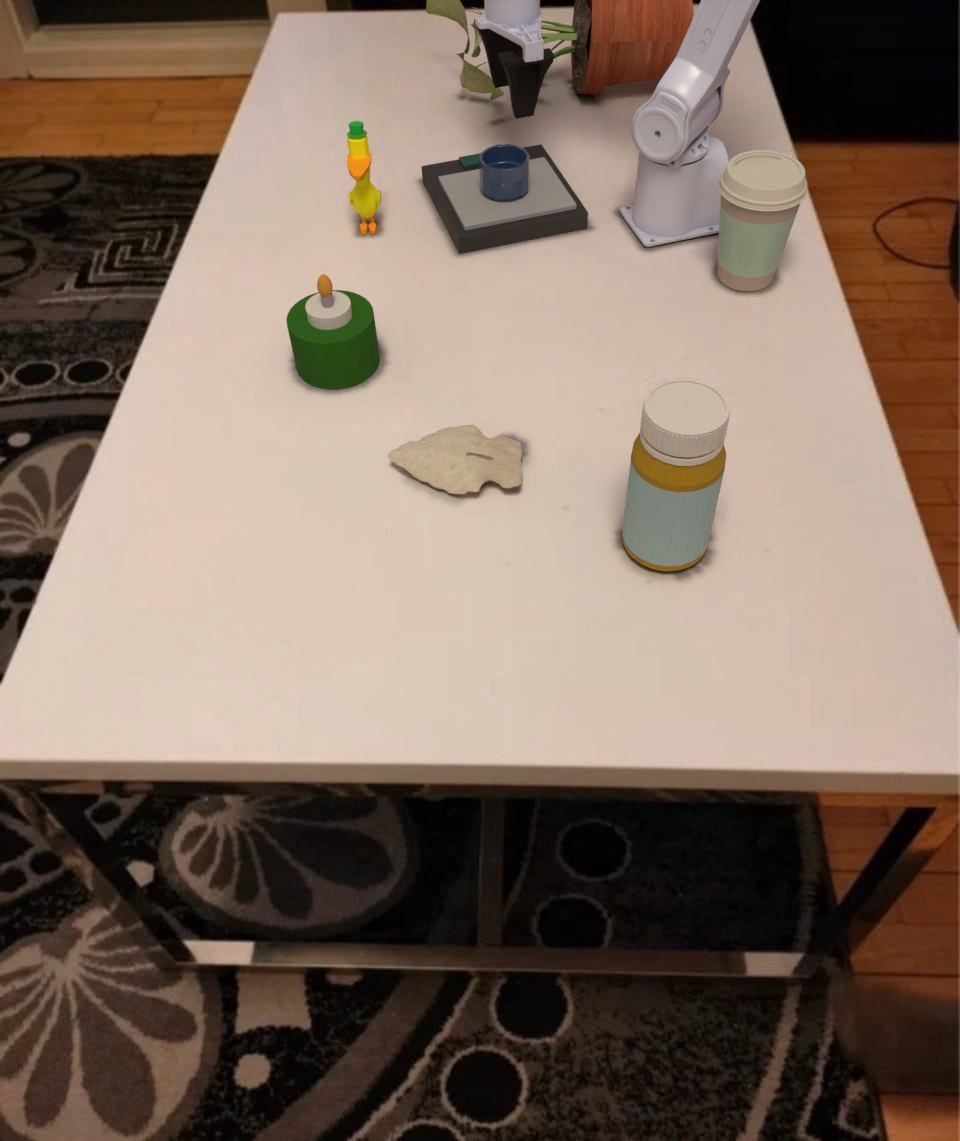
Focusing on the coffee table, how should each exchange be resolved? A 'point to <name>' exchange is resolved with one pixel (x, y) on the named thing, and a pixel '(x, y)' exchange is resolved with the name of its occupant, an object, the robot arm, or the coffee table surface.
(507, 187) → the blue cup
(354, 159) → the toy figure
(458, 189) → the scale
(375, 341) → the candle
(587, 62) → the potted plant
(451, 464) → the decorative stone
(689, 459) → the bottle
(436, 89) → the coffee table surface
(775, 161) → the coffee cup
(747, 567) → the coffee table surface
